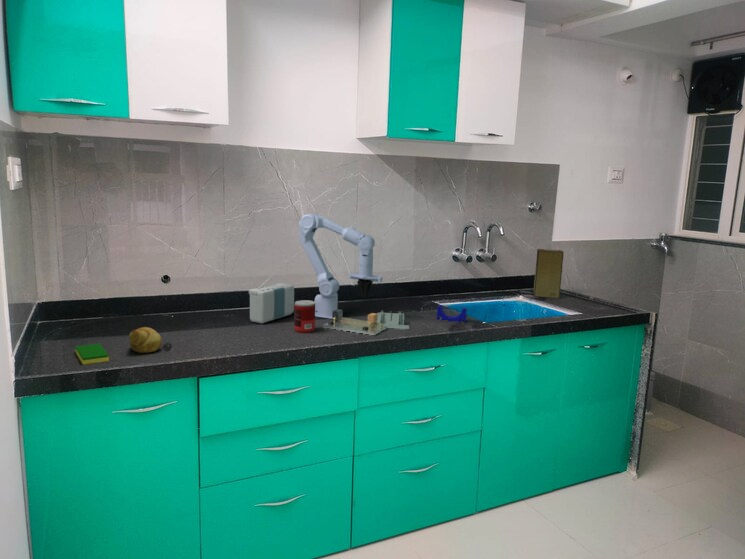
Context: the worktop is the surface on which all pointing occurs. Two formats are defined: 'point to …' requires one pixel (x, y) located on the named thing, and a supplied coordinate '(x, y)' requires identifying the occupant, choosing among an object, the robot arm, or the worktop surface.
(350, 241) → the robot arm
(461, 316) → the cable clip
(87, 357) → the dish sponge
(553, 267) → the food packaging
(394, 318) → the metal bracket
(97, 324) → the worktop surface
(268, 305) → the stereo radio cassette player
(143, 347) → the bread roll
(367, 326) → the plate
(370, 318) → the block
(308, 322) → the canned food
